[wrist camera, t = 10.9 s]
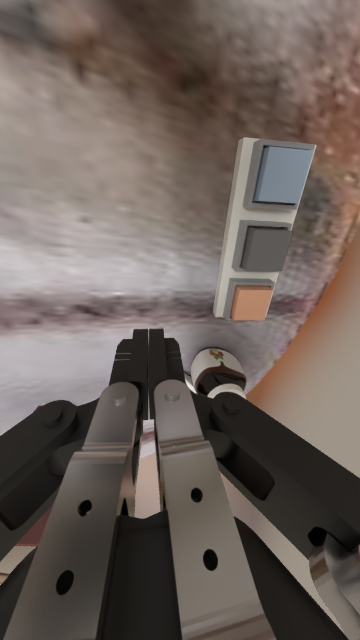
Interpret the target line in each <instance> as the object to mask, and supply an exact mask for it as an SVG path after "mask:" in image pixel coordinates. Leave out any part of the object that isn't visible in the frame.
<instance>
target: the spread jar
mask: <svg viewBox="0 0 360 640" xmlns="http://www.w3.org/2000/svg"><path fill="white" fill-rule="evenodd" d="M184 376H185V381H186V384H187V386H188V387H189V389H190V390H192V391H193V392H194V393H196V394H198V395H201V396H205V397H210V398H214V397H215V395H217V394H218V393H220V392H226V391H227V392H233V393H236V394H239V395H240V396H242V397H243V398H245V399H246V396H245V394H244V389H245V387H246V382H247V381H246V376H245V373H244V371H243V369H242V367H241V365H240V363H239V362H238V360H237V359H236V358H235V357H234V356H233V355H232V354H230V353H229V352H227V351H226V350H224V349H221V348H217V347H210V348H206V349H203V350H202V351H200V352H199V353H198V354H197V355H196V357H195V359H194V361H193V363H192V366H191V377H192V378H191V377H190V376H188V375H187V374H185V373H184Z"/></svg>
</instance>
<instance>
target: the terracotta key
mask: <svg viewBox="0 0 360 640" xmlns="http://www.w3.org/2000/svg"><path fill="white" fill-rule="evenodd" d="M272 292H273V290H272V289H271V288H270V287H268V286H261V285H236V287H235V292H234V297H233V302H232V307H231V312H230V316H231V317H232V319H233V320H265V316H266V313H267V309H268V306H269V303H270V299H271V296H272Z"/></svg>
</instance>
